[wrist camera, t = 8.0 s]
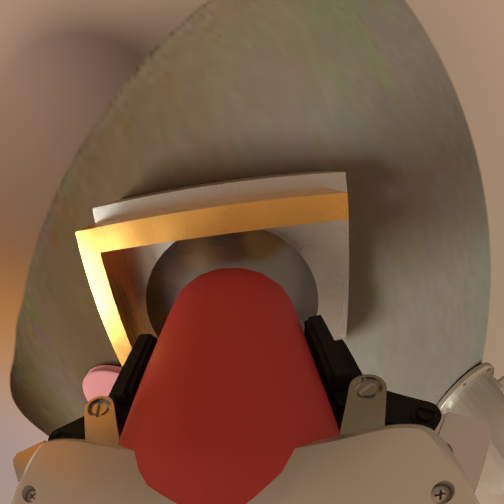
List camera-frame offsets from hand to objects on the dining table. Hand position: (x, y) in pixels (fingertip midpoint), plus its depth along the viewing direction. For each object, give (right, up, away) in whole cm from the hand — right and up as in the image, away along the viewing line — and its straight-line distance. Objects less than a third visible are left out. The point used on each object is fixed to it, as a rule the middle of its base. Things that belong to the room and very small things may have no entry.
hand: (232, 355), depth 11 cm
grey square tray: (0, +3, +8) cm, 8 cm away
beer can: (0, +1, +3) cm, 3 cm away
